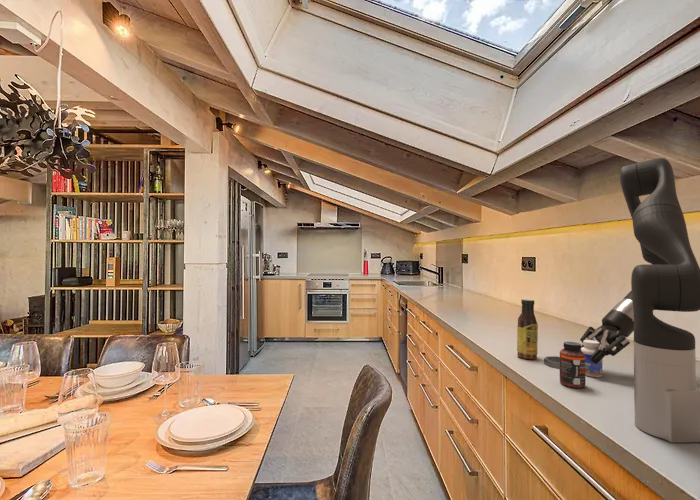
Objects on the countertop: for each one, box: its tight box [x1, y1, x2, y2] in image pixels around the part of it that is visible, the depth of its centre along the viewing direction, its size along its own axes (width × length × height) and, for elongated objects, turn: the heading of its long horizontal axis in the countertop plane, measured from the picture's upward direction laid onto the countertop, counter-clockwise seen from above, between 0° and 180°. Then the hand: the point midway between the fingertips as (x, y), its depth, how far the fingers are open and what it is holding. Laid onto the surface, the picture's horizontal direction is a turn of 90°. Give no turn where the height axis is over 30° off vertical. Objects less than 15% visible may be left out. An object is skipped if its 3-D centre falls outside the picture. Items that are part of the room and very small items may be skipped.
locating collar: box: [543, 355, 560, 370], centre depth 112 cm, size 8×8×2 cm
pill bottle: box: [581, 339, 604, 378], centre depth 103 cm, size 5×5×10 cm
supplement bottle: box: [559, 341, 587, 389], centre depth 95 cm, size 6×6×11 cm
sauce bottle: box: [516, 298, 539, 360], centre depth 120 cm, size 6×6×20 cm
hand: (585, 358), depth 103 cm, fingers closed on pill bottle, 5 cm apart
